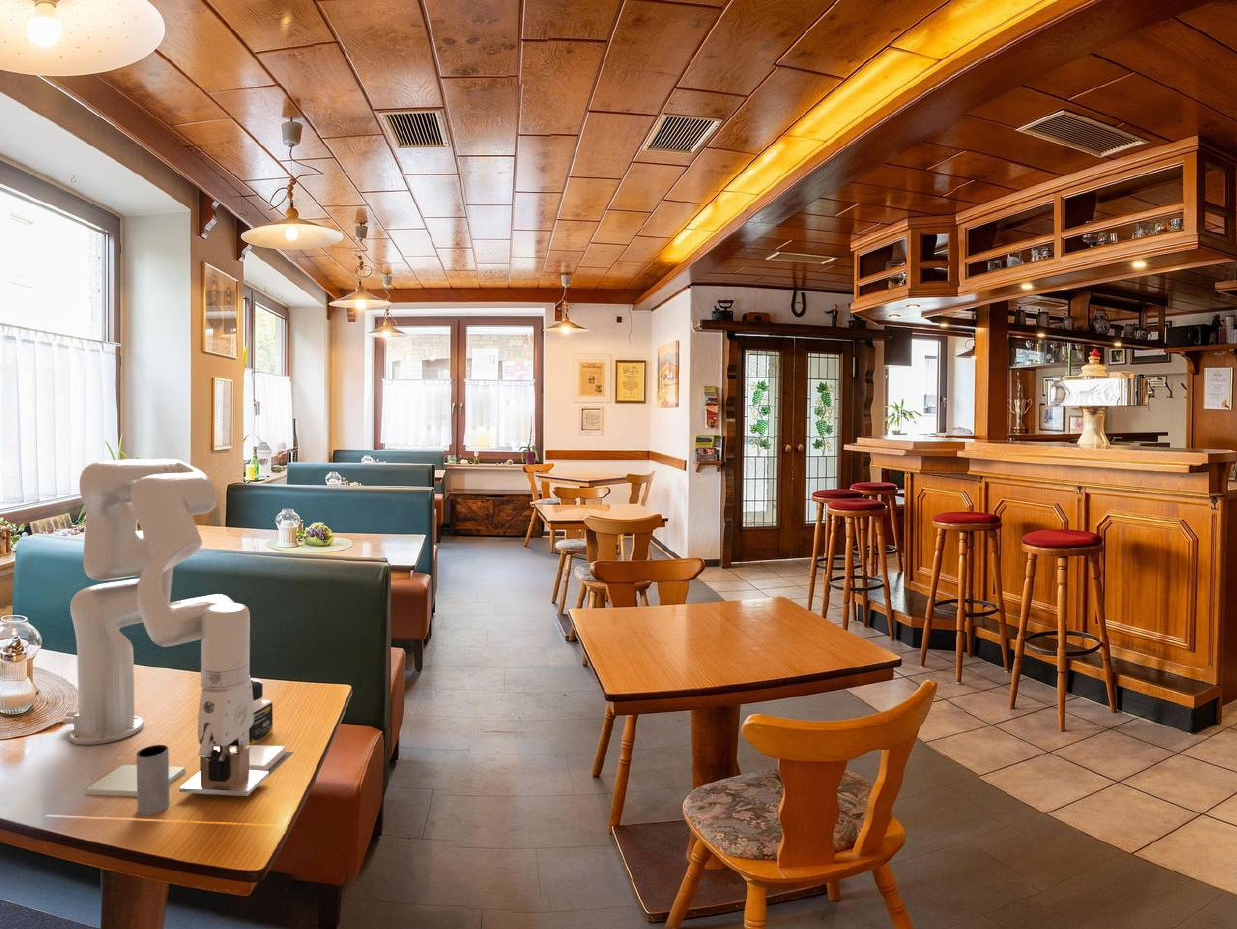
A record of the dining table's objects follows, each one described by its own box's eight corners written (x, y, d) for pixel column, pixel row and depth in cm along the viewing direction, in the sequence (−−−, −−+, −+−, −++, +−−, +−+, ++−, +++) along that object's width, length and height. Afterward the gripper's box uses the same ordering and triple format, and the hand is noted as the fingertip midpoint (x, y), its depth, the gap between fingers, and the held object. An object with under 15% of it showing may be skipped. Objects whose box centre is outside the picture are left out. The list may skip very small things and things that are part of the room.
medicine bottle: (249, 747, 146) (249, 689, 145) (219, 743, 147) (218, 686, 146) (273, 732, 152) (273, 677, 152) (244, 729, 154) (243, 674, 153)
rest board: (85, 795, 126) (85, 789, 126) (123, 771, 135) (123, 764, 135) (152, 798, 125) (152, 791, 125) (185, 773, 134) (185, 767, 134)
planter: (147, 802, 124) (146, 744, 123) (174, 802, 124) (173, 744, 124) (131, 817, 119) (130, 757, 119) (160, 816, 120) (159, 756, 119)
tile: (222, 763, 135) (264, 765, 134) (246, 744, 142) (285, 746, 142) (222, 772, 135) (264, 773, 134) (246, 752, 143) (285, 754, 142)
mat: (204, 775, 134) (204, 774, 134) (235, 751, 144) (235, 749, 144) (267, 778, 133) (267, 776, 133) (293, 753, 143) (293, 752, 143)
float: (179, 792, 125) (179, 757, 124) (204, 772, 131) (204, 739, 131) (247, 796, 124) (247, 761, 124) (268, 775, 131) (268, 742, 131)
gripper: (218, 694, 118) (218, 801, 119) (270, 660, 134) (269, 754, 136) (174, 691, 118) (174, 798, 120) (231, 657, 135) (231, 752, 136)
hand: (225, 774), depth 128 cm, fingers closed on float, 3 cm apart
